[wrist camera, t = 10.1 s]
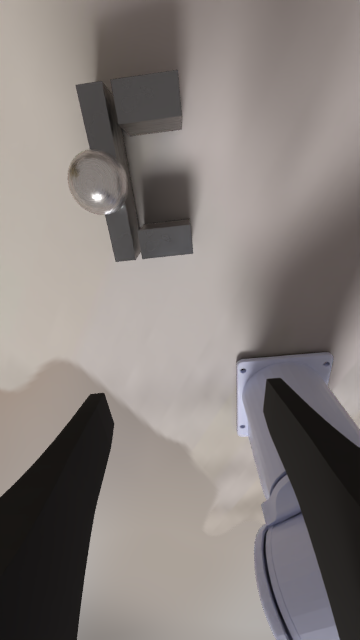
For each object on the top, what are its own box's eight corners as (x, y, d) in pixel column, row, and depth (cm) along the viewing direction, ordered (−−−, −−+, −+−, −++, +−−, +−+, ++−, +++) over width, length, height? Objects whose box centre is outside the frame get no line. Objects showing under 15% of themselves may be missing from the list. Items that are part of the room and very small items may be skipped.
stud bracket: (191, 243, 17) (195, 268, 12) (115, 251, 18) (86, 280, 12) (178, 92, 14) (176, 28, 8) (83, 106, 14) (19, 52, 8)
